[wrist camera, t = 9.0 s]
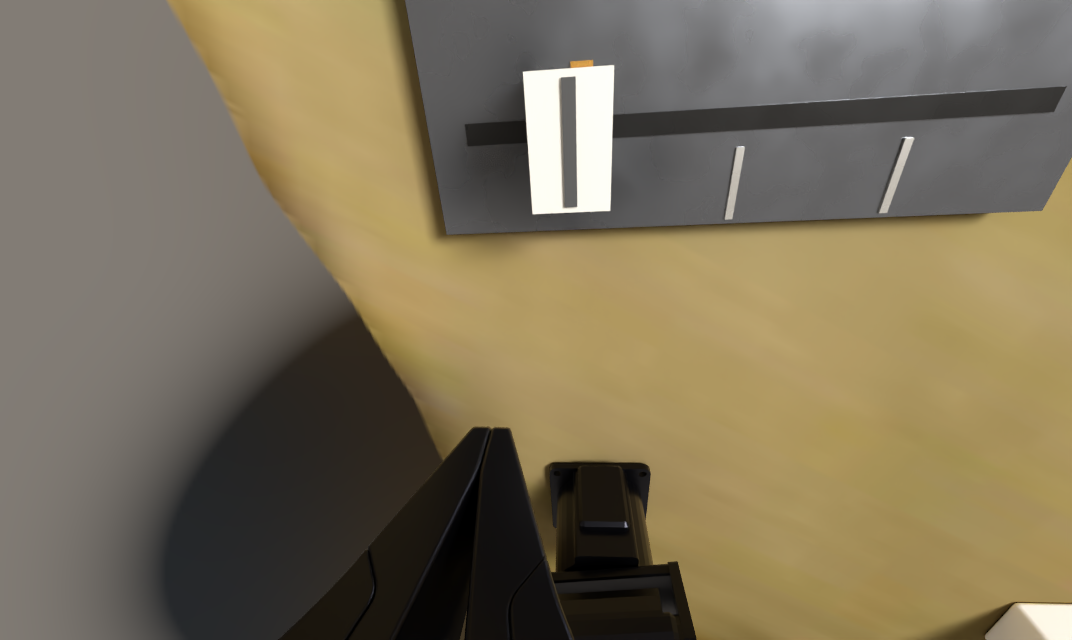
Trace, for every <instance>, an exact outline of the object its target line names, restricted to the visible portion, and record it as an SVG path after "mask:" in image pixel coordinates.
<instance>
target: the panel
mask: <svg viewBox="0 0 1072 640" xmlns="http://www.w3.org/2000/svg"><path fill="white" fill-rule="evenodd" d="M405 3H406V9H407V14H408V20H409V25H410V31H411V37H412V42H413V48H414V54H415V59H416V65H417V70H418V76H419V82H420V87H421V93H422V99H423V104H424V110H425V115H426V121H427V127H428V132H429V138H430V144H431V149H432V155H433V161H434V166H435V172H436V177H437V183H438V189H439V194H440V200H441V206H442V211H443V217H444V222H445V228H446V234H447V235H452V234H477V233H502V232H527V231H551V230H576V229H601V228H626V227H650V226H675V225H700V224H725V223H750V222H774V221H799V220H824V219H849V218H874V217H898V216H923V215H948V214H973V213H997V212H1022V211H1042V210H1043V208H1044V206H1045V205H1046V203H1047V201H1048V199H1049V197H1050V195H1051V194H1052V192H1053V190H1054V188H1055V186H1056V185H1057V183H1058V181H1059V179H1060V177H1061V176H1062V174H1063V172H1064V170H1065V168H1066V167H1067V165H1068V163H1069V161H1070V159H1071V157H1072V0H405ZM607 65H614V92H613V130H612V167H611V204H610V211H595V212H572V213H549V214H533V213H532V198H531V184H530V169H529V154H528V140H527V125H526V110H525V96H524V81H523V72H526V71H538V70H551V69H565V68H579V67H592V66H607Z"/></svg>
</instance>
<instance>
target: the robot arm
mask: <svg viewBox="0 0 1072 640" xmlns="http://www.w3.org/2000/svg"><path fill="white" fill-rule="evenodd" d="M650 475H651V474H650V469H649V466H648V465H646V464H582V463H556V464H552V465H551V466H550V487H551V501H552V516H553V526H554V527H555V528H557V533H556V572H551V571H550V567H549V564H548V561H547V560H546V554H545V550H544V546H543V543H542V539H541V536H540V532H539V529H538V525H537V521H536V518H535V514H534V511H533V507H532V504H531V500H530V497H529V493H528V489H527V486H526V482H525V479H524V475H523V472H522V468H521V464H520V461H519V457H518V454H517V450H516V447H515V443H514V439H513V436H512V432H511V430H510V428H504V427H494V428H493V429H491V428H490V427H473V428H472V429H471V430H470V431H469V432H468V433H467V434H466V436H465V437H464V438H463V439H462V440H461V441H460V442H459V444H458V445H457V446H456V447H455V448H454V449H453V450H452V452H451V453H450V454H449V455H448V456H447V457H446V458H445V460H444V461H443V462H442V463H441V464H440V465H439V466H438V468H437V469H436V470H435V471H434V472H433V473H432V474H431V476H430V477H429V478H428V479H427V480H426V481H425V482H424V484H423V485H422V486H421V487H420V488H419V489H418V490H417V492H416V493H415V494H414V495H413V496H412V497H411V498H410V499H409V501H408V502H407V503H406V504H405V505H404V506H403V507H402V509H401V510H400V511H399V512H398V513H397V514H396V515H395V516H394V518H393V519H392V520H391V521H390V522H389V523H388V524H387V526H386V527H385V528H384V529H383V530H382V531H381V533H380V534H379V535H378V536H377V537H376V538H375V539H374V541H373V542H372V543H371V544H370V545H369V546H368V550H364V551H363V553H362V554H361V555H360V556H359V557H358V558H357V560H356V561H355V562H354V563H353V564H352V565H351V566H350V567H349V569H348V570H347V571H346V572H345V573H344V574H343V575H342V576H341V577H340V578H339V579H338V580H337V582H336V583H335V584H334V585H333V586H332V587H331V588H330V589H329V590H328V591H327V592H326V593H325V594H324V595H323V596H322V597H321V598H320V599H319V600H318V601H317V602H316V603H315V604H314V605H313V606H312V607H311V608H310V609H309V610H308V611H307V612H306V613H305V614H304V615H303V616H302V617H301V618H300V619H299V620H298V621H297V622H296V623H295V624H294V625H293V626H292V627H291V628H290V629H289V630H288V631H287V632H286V633H285V634H284V635H282V636H281V637H280V638H279V639H278V640H460V636H461V632H462V628H463V623H464V619H465V615H466V611H467V617H466V628H465V639H464V640H696V635H695V631H694V627H693V623H692V619H691V615H690V611H689V607H688V602H687V598H686V594H685V590H684V586H683V582H682V578H681V574H680V570H679V566H678V562H677V561H676V562H668V564H660V565H653V561H652V556H651V550H650V544H649V538H648V532H647V527H646V521H645V520H646V511H647V502H648V493H649V484H650Z"/></svg>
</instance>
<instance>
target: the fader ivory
mask: <svg viewBox="0 0 1072 640" xmlns="http://www.w3.org/2000/svg"><path fill="white" fill-rule="evenodd" d="M523 81H524V96H525V110H526V125H527V140H528V154H529V169H530V184H531V198H532V213H533V214H549V213H572V212H595V211H610V204H611V167H612V130H613V92H614V65H607V66H592V67H579V68H565V69H551V70H538V71H526V72H523Z"/></svg>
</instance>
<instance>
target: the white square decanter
mask: <svg viewBox="0 0 1072 640" xmlns="http://www.w3.org/2000/svg"><path fill="white" fill-rule="evenodd" d="M985 639H986V640H1072V604H1050V603H1015V604H1013V605H1012V606H1011V608H1010V609H1009V610H1008V611H1007V612H1006V613H1005V614H1004V615H1003V616H1002V617H1001V618H1000V620H999V621H998V622H997V623H996V624H995V625H994V626H993V627H992V628H991V629H990V630H989V631H988V632H987V633H986V635H985Z"/></svg>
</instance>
